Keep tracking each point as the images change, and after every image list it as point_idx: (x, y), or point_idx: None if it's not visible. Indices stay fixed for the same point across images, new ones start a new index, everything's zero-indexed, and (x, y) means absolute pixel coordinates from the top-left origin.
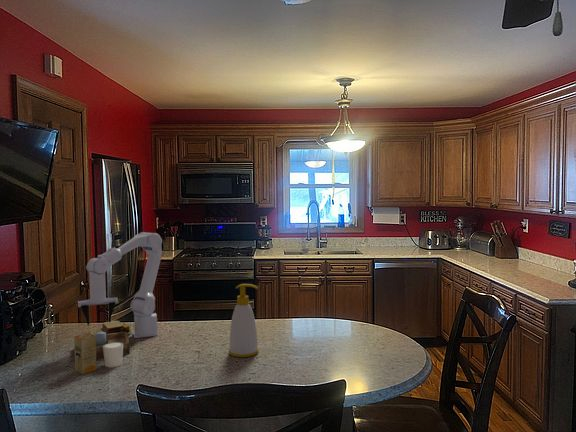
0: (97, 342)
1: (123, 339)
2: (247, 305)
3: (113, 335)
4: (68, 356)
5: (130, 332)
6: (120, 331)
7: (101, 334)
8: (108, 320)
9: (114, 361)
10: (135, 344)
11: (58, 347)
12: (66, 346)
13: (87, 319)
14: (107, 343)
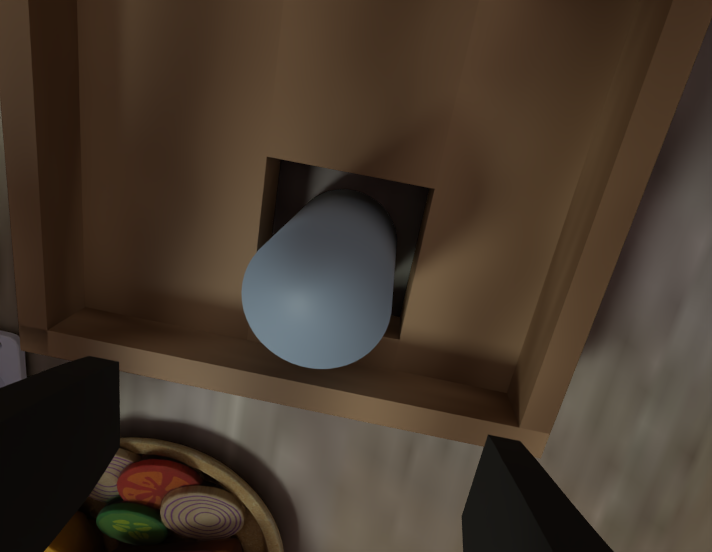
0: (377, 226)
1: (98, 244)
2: None
3: (176, 346)
4: (689, 177)
5: None
6: (126, 548)
7: (313, 232)
8: (94, 382)
9: None
10: None
11: (664, 491)
12: (598, 477)
13: (566, 518)
14: None
